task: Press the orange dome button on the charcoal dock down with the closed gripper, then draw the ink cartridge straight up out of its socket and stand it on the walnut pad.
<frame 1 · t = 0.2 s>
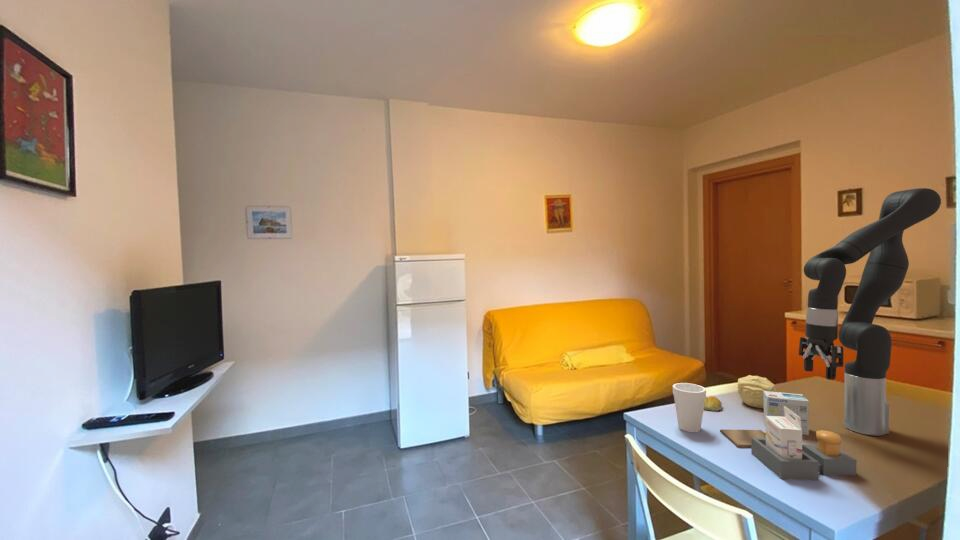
hand: (818, 375, 124), 17 cm above the table, tool pointing down, fingers open, 8 cm apart
bread roll: (708, 407, 146), on the table
orange dome button: (828, 444, 104), point 6 cm above the table, slide at 0.0 cm
foam cup: (689, 428, 129), on the table
cartridge dock: (782, 466, 105), on the table
sculpture: (757, 405, 146), on the table
ink cartridge box: (782, 467, 105), resting in cartridge dock
light bulb box: (785, 429, 127), on the table
walnut pad: (749, 439, 120), on the table
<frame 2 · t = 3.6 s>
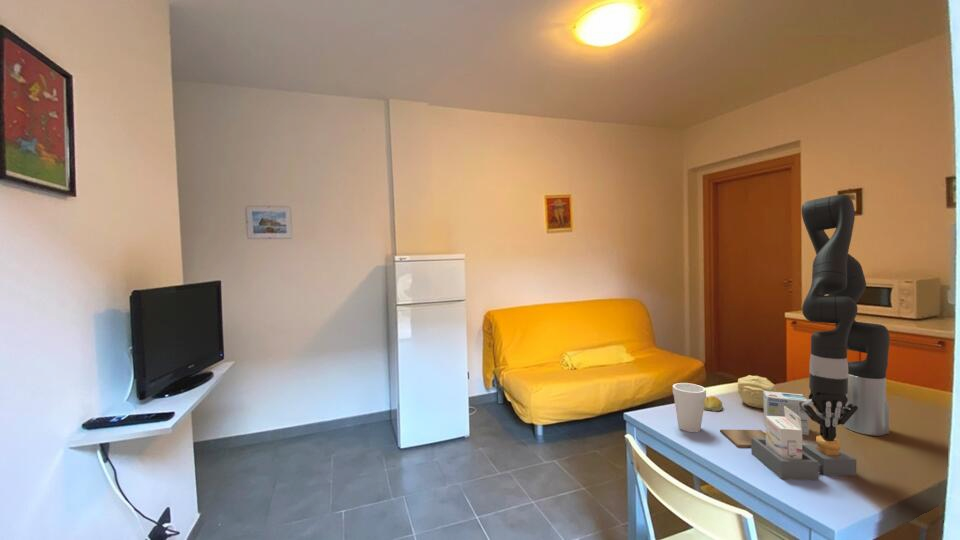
hand: (827, 439, 104), 7 cm above the table, tool pointing down, fingers closed
orange dome button: (828, 450, 104), point 4 cm above the table, slide at 1.4 cm, touching gripper
everything else where it was.
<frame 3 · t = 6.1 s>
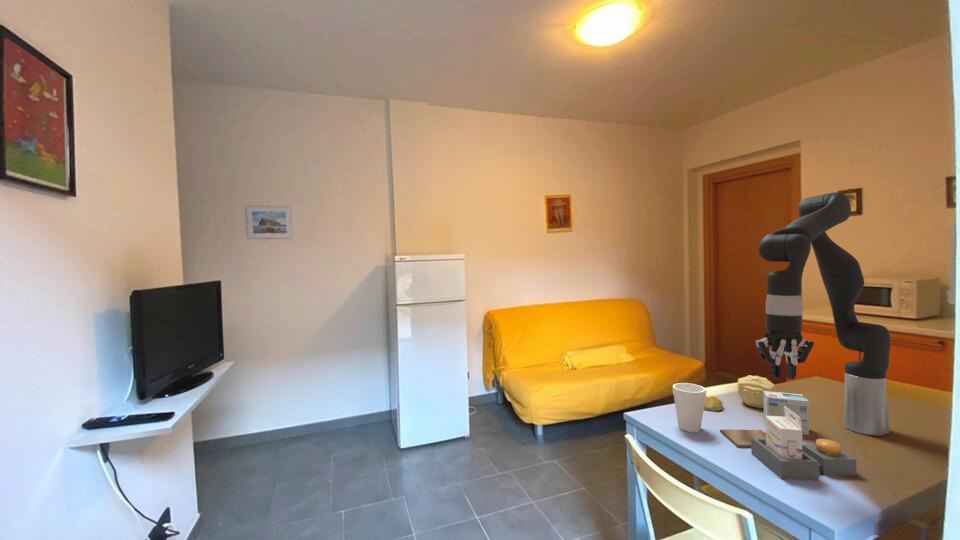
hand: (783, 378, 104), 23 cm above the table, tool pointing down, fingers closed
orange dome button: (828, 453, 104), point 3 cm above the table, slide at 2.3 cm
everything else where it was.
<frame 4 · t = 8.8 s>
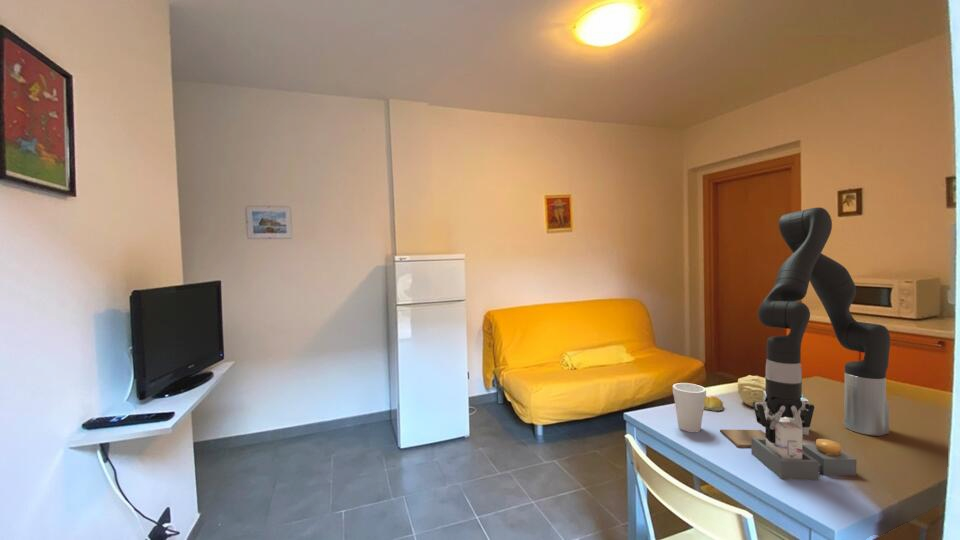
hand: (783, 441, 105), 6 cm above the table, tool pointing down, fingers closed on ink cartridge box, 5 cm apart
ink cartridge box: (782, 466, 105), resting in cartridge dock, touching gripper
everything else where it was.
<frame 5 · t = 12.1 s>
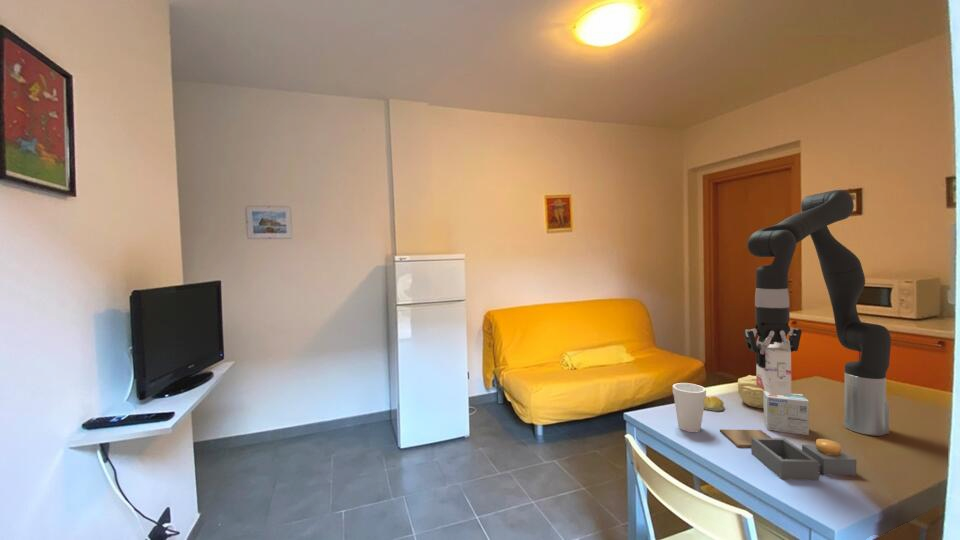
hand: (772, 366, 109), 25 cm above the table, tool pointing down, fingers closed on ink cartridge box, 5 cm apart
ink cartridge box: (773, 391, 110), point 18 cm above the table, touching gripper
everything else where it was.
when the fingers open (9 cm above the table, at t = 15.4 s): ink cartridge box drops 1 cm, resting on walnut pad.
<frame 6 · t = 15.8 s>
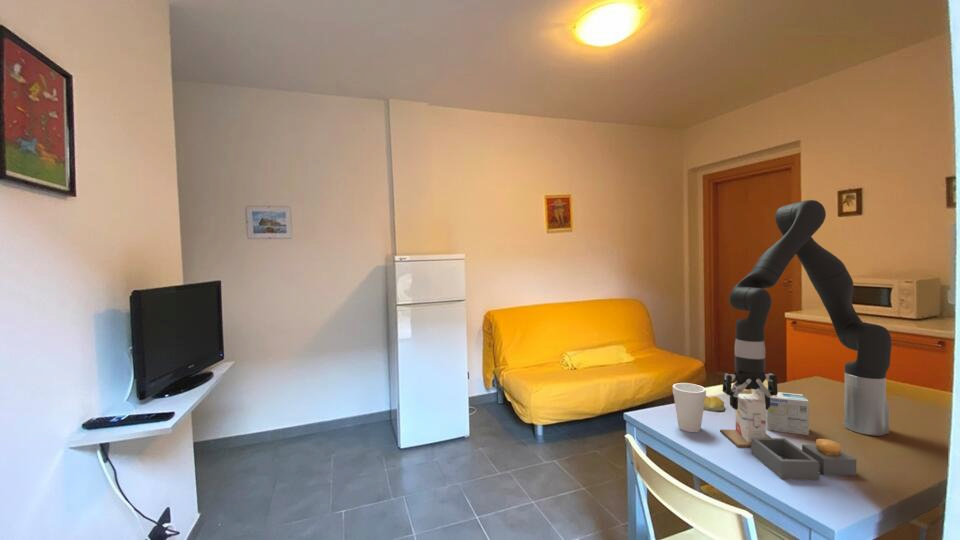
hand: (749, 408, 120), 9 cm above the table, tool pointing down, fingers open, 8 cm apart
ink cartridge box: (750, 437, 120), point 1 cm above the table, touching walnut pad
everything else where it was.
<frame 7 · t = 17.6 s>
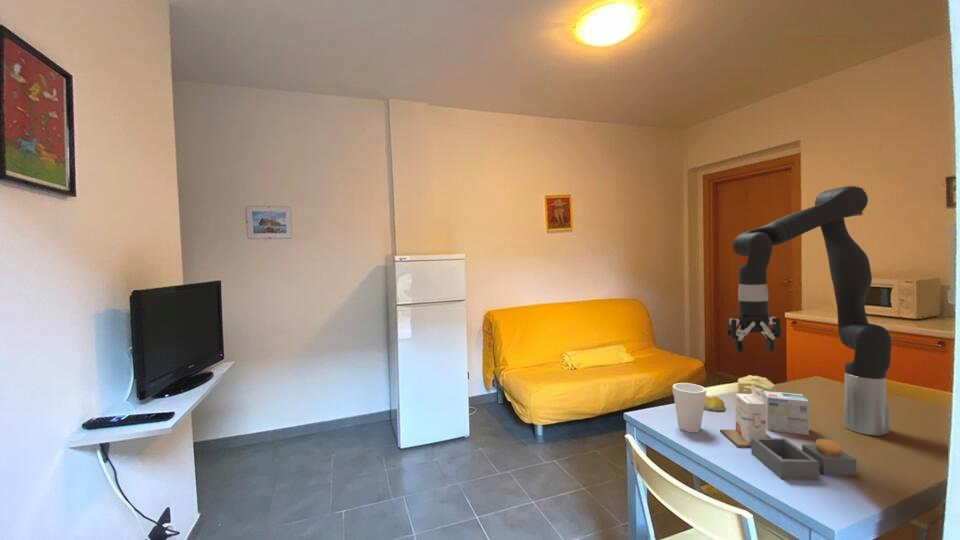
hand: (754, 351, 123), 25 cm above the table, tool pointing down, fingers open, 8 cm apart
nothing on the table moved.
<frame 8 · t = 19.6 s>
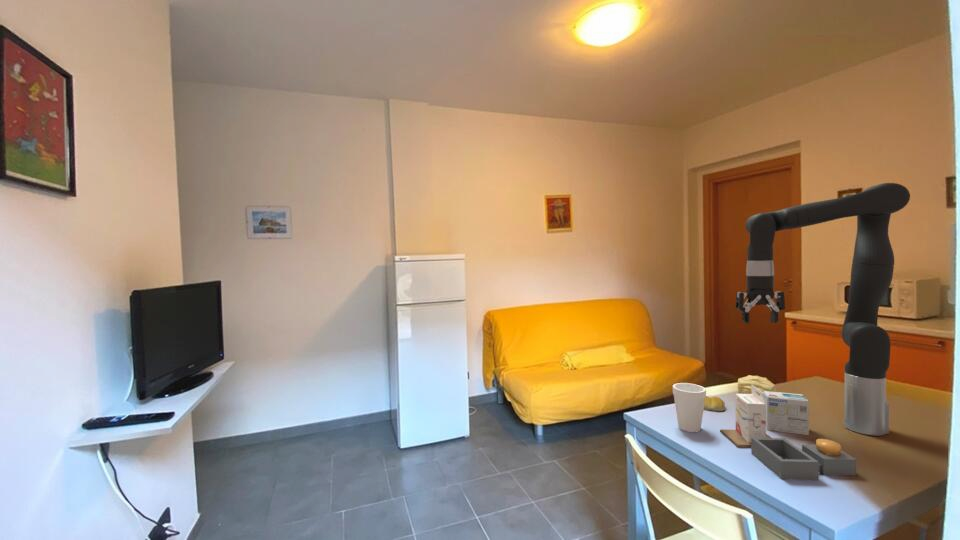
hand: (759, 323, 134), 32 cm above the table, tool pointing down, fingers open, 8 cm apart
nothing on the table moved.
at the end: orange dome button slide at 2.3 cm; ink cartridge box inside the target area on the walnut pad (0.1 cm from its centre), point 0.6 cm above the walnut pad's base; ink cartridge box tilted 0° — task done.
